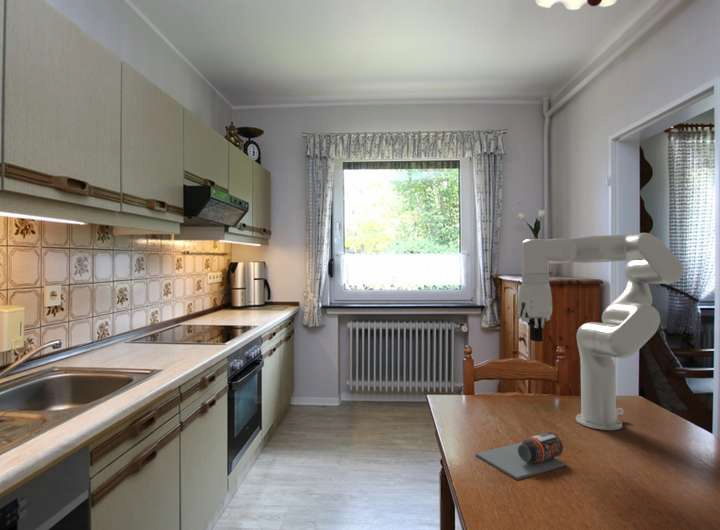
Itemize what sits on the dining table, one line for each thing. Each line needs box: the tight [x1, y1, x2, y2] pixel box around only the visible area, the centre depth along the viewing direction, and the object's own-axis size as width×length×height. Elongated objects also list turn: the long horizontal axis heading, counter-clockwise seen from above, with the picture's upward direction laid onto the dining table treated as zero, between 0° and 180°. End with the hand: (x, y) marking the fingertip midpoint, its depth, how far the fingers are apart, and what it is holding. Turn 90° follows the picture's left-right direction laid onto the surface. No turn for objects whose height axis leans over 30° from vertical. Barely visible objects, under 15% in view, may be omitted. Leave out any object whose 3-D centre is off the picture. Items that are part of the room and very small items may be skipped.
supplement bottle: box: [518, 431, 564, 463], centre depth 104 cm, size 6×6×11 cm
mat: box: [475, 441, 566, 481], centre depth 105 cm, size 16×14×1 cm
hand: (536, 340), depth 125 cm, fingers closed
